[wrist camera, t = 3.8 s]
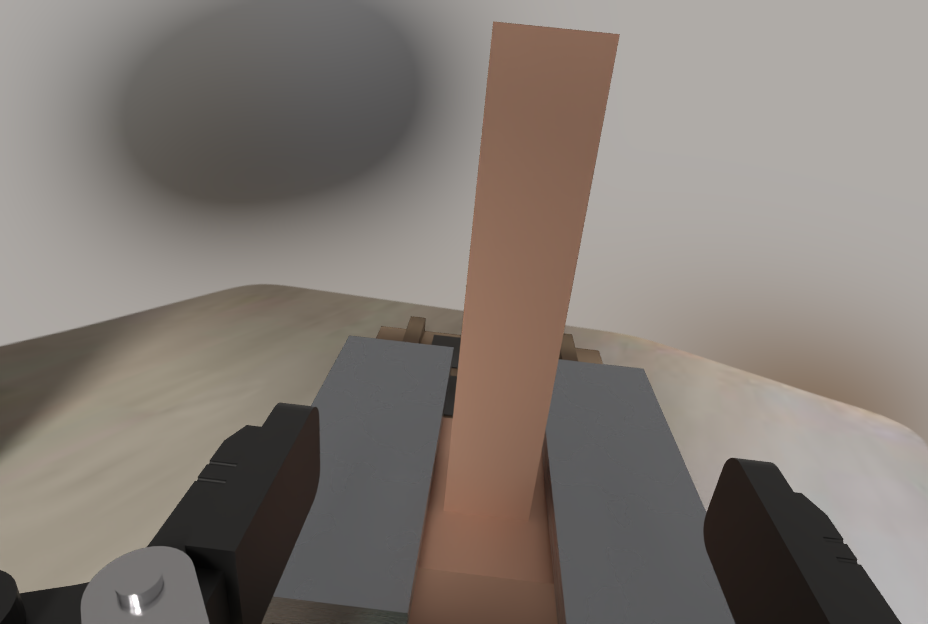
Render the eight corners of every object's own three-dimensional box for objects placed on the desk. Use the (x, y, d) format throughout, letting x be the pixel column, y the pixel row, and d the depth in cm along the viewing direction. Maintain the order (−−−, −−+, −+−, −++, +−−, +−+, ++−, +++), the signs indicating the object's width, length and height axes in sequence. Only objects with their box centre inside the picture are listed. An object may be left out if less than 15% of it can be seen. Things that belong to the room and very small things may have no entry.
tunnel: (713, 770, 16) (769, 657, 14) (227, 708, 16) (211, 588, 14) (621, 453, 29) (643, 368, 27) (348, 421, 29) (349, 335, 27)
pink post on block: (593, 653, 19) (771, 43, 11) (355, 624, 19) (365, 3, 11) (568, 485, 26) (665, 46, 18) (396, 465, 26) (420, 22, 18)
